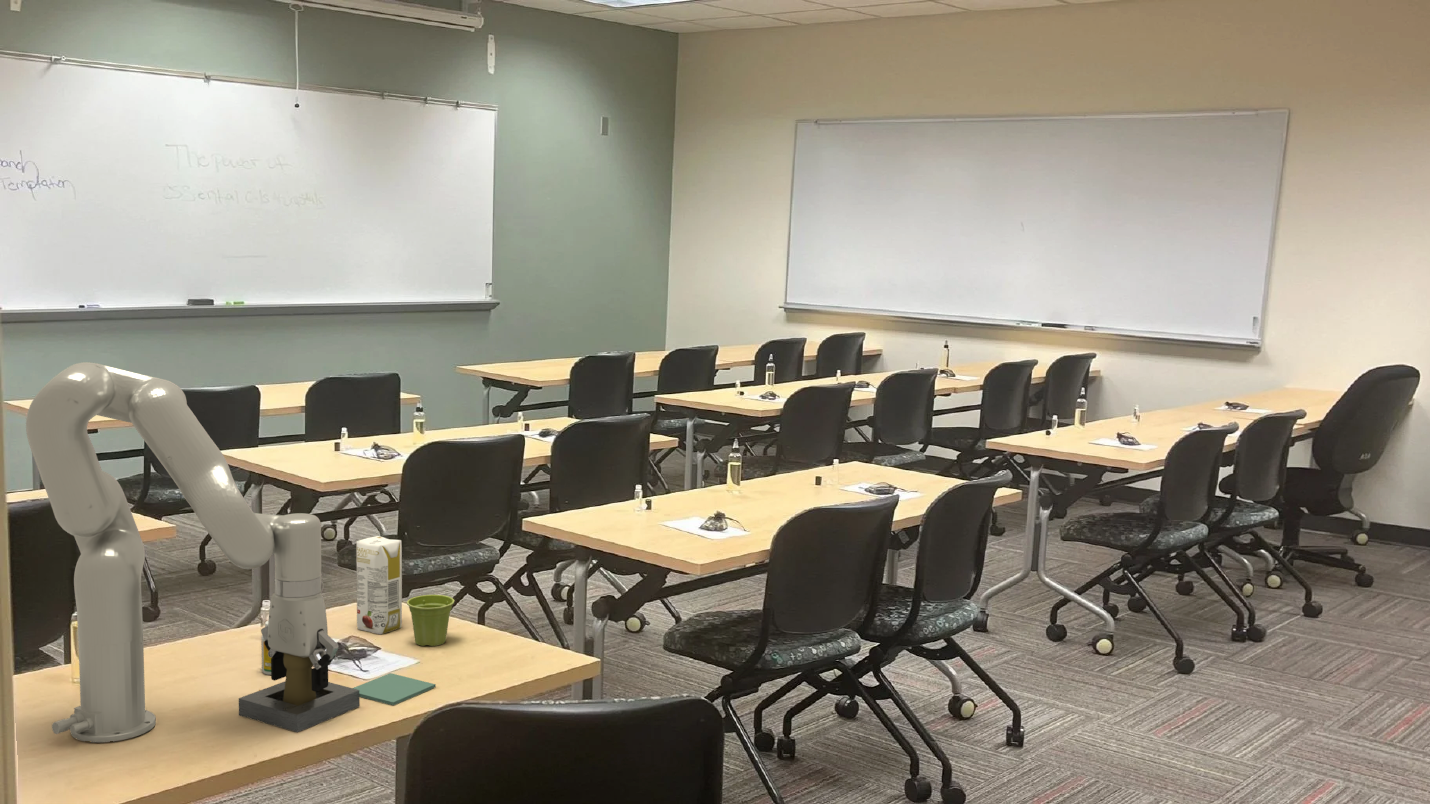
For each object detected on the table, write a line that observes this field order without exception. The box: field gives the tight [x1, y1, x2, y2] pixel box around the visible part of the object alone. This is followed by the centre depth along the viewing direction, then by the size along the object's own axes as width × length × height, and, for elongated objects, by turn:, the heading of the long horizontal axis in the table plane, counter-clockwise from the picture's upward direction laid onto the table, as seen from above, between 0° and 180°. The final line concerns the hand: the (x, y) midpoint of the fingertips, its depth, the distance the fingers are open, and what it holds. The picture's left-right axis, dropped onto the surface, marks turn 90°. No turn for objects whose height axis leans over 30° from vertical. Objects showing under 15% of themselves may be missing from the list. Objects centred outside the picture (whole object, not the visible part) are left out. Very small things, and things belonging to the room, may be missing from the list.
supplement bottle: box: [260, 620, 285, 676], centre depth 234 cm, size 5×5×10 cm
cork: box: [283, 653, 316, 706], centre depth 214 cm, size 6×6×11 cm
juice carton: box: [355, 535, 403, 635], centre depth 261 cm, size 8×9×19 cm
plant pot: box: [406, 594, 455, 647], centre depth 253 cm, size 9×9×9 cm
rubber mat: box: [352, 672, 436, 706], centre depth 226 cm, size 11×11×1 cm
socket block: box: [238, 680, 361, 733], centre depth 215 cm, size 14×14×3 cm
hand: (299, 683), depth 214 cm, fingers open, 9 cm apart
